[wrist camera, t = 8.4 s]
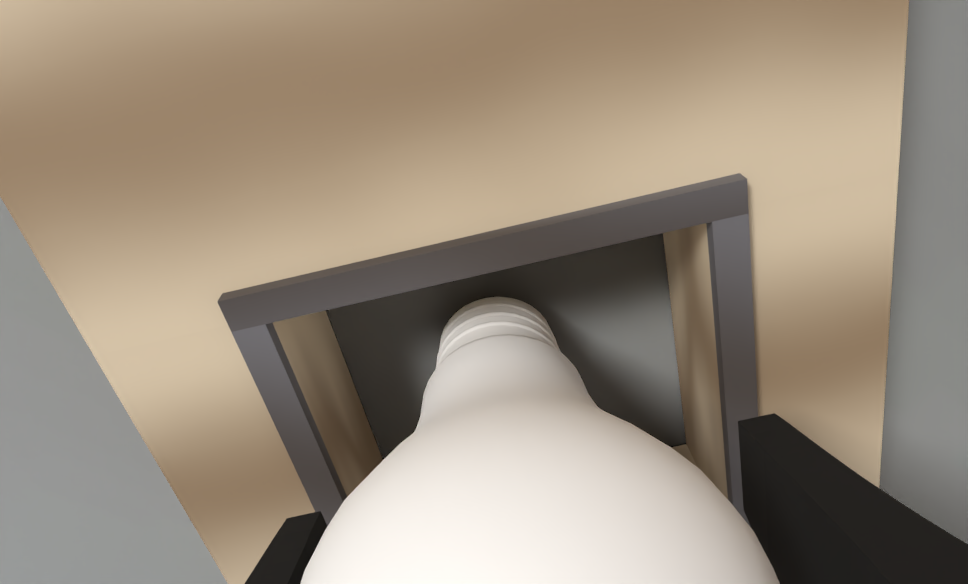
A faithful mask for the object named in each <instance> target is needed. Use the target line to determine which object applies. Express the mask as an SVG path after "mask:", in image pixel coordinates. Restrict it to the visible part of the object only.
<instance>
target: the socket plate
mask: <svg viewBox="0 0 968 584" xmlns="http://www.w3.org/2000/svg"><path fill="white" fill-rule="evenodd" d="M908 9H909V0H0V197H1V198H2V200H3V202H4V204H5V205H6V207H7V209H8V210H9V212H10V214H11V215H12V217H13V219H14V221H15V222H16V224H17V226H18V227H19V229H20V231H21V232H22V234H23V236H24V238H25V239H26V241H27V243H28V244H29V246H30V248H31V249H32V251H33V253H34V255H35V256H36V258H37V260H38V261H39V263H40V265H41V266H42V268H43V270H44V272H45V273H46V275H47V277H48V278H49V280H50V282H51V283H52V285H53V287H54V289H55V290H56V292H57V294H58V295H59V297H60V299H61V300H62V302H63V304H64V306H65V307H66V309H67V311H68V312H69V314H70V316H71V317H72V319H73V321H74V323H75V324H76V326H77V328H78V329H79V331H80V333H81V334H82V336H83V338H84V340H85V341H86V343H87V345H88V346H89V348H90V350H91V351H92V353H93V355H94V357H95V358H96V360H97V362H98V363H99V365H100V367H101V368H102V370H103V372H104V374H105V375H106V377H107V379H108V380H109V382H110V384H111V385H112V387H113V389H114V391H115V392H116V394H117V396H118V397H119V399H120V401H121V402H122V404H123V406H124V408H125V409H126V411H127V413H128V414H129V416H130V418H131V419H132V421H133V423H134V425H135V426H136V428H137V430H138V431H139V433H140V435H141V436H142V438H143V440H144V442H145V443H146V445H147V447H148V448H149V450H150V452H151V453H152V455H153V457H154V459H155V460H156V462H157V464H158V465H159V467H160V469H161V470H162V472H163V474H164V476H165V477H166V479H167V481H168V482H169V484H170V486H171V487H172V489H173V491H174V493H175V494H176V496H177V498H178V499H179V501H180V503H181V504H182V506H183V508H184V510H185V511H186V513H187V515H188V516H189V518H190V520H191V521H192V523H193V525H194V527H195V528H196V530H197V532H198V533H199V535H200V537H201V538H202V540H203V542H204V544H205V545H206V547H207V549H208V550H209V552H210V554H211V555H212V557H213V559H214V561H215V562H216V564H217V566H218V567H219V569H220V571H221V572H222V574H223V576H224V578H225V579H226V581H227V583H228V584H245V582H246V580H247V579H248V577H249V576H250V574H251V573H252V571H253V570H254V568H255V566H256V565H257V563H258V562H259V560H260V559H261V557H262V555H263V554H264V552H265V551H266V549H267V548H268V546H269V544H270V543H271V541H272V540H273V538H274V537H275V535H276V534H277V532H278V531H279V529H280V528H281V526H282V525H283V523H284V522H285V520H286V519H287V518H290V517H295V516H300V515H304V514H309V513H314V512H318V511H321V513H322V515H323V517H324V519H325V522H326V524H327V526H328V525H329V523H330V522H331V520H332V519H333V517H334V515H335V514H336V512H337V511H338V509H339V508H340V506H341V505H342V503H343V501H344V500H345V499H346V498H347V497H348V496H349V495H350V494H351V493H352V492H353V491H354V490H355V488H356V487H357V486H358V485H359V484H360V483H361V482H362V481H363V480H364V479H365V478H366V477H367V476H368V475H369V474H370V473H371V472H372V471H373V470H374V469H375V468H376V467H377V466H378V465H379V464H380V463H381V462H382V461H383V459H382V456H381V453H380V451H379V448H378V446H377V443H376V440H375V438H374V435H373V433H372V430H371V427H370V425H369V422H368V420H367V417H366V414H365V412H364V409H363V407H362V404H361V401H360V399H359V396H358V394H357V391H356V388H355V386H354V383H353V381H352V378H351V375H350V373H349V370H348V368H347V365H346V362H345V360H344V357H343V355H342V352H341V349H340V347H339V344H338V342H337V339H336V336H335V334H334V331H333V329H332V326H331V323H330V321H329V318H328V316H327V313H326V310H330V309H334V308H338V307H343V306H347V305H351V304H356V303H360V302H365V301H369V300H373V299H378V298H382V297H386V296H391V295H395V294H399V293H404V292H408V291H413V290H417V289H421V288H426V287H430V286H434V285H439V284H443V283H447V282H452V281H456V280H461V279H465V278H469V277H474V276H478V275H482V274H487V273H491V272H495V271H500V270H504V269H509V268H513V267H517V266H522V265H526V264H530V263H535V262H539V261H543V260H548V259H552V258H556V257H561V256H565V255H570V254H574V253H578V252H583V251H587V250H591V249H596V248H600V247H604V246H609V245H613V244H618V243H622V242H626V241H631V240H635V239H639V238H644V237H648V236H652V235H657V234H661V233H663V239H664V248H665V257H666V266H667V275H668V283H669V292H670V301H671V310H672V319H673V328H674V337H675V346H676V355H677V364H678V373H679V382H680V391H681V400H682V409H683V418H684V427H685V436H686V444H685V445H680V446H675V447H671V448H672V449H674V450H675V451H676V452H678V453H679V454H680V455H682V456H683V457H684V458H686V459H687V460H688V461H690V462H691V463H692V464H694V465H695V466H696V467H698V468H699V469H700V470H701V471H702V472H703V473H704V474H705V475H706V476H707V477H708V478H709V479H710V480H711V482H712V483H713V484H714V485H715V486H716V487H717V488H718V489H719V490H720V492H721V493H722V494H723V495H724V496H725V497H726V498H727V499H728V500H729V501H730V503H731V504H732V505H733V506H734V507H735V509H736V510H737V511H738V512H739V514H740V515H741V516H742V517H743V519H744V520H745V521H746V522H747V524H748V525H749V526H750V524H749V521H748V519H747V517H746V514H745V512H744V508H743V493H742V477H741V462H740V447H739V431H738V421H740V420H745V419H750V418H754V417H759V416H764V415H768V414H773V413H775V414H777V415H778V416H780V417H781V418H783V419H784V420H785V421H787V422H788V423H789V424H791V425H792V426H793V427H795V428H796V429H797V430H799V431H800V432H801V433H803V434H804V435H805V436H807V437H808V438H809V439H811V440H812V441H813V442H815V443H816V444H817V445H819V446H820V447H821V448H823V449H824V450H826V451H827V452H828V453H830V454H831V455H832V456H834V457H835V458H837V459H838V460H839V461H841V462H842V463H843V464H845V465H846V466H848V467H849V468H850V469H852V470H853V471H855V472H856V473H858V474H859V475H860V476H862V477H863V478H865V479H866V480H868V481H869V482H871V483H872V484H874V485H875V486H877V487H878V488H879V482H880V466H881V450H882V433H883V417H884V401H885V384H886V368H887V352H888V335H889V319H890V303H891V286H892V270H893V254H894V237H895V221H896V205H897V188H898V172H899V156H900V139H901V123H902V107H903V90H904V74H905V58H906V41H907V25H908ZM750 527H751V526H750ZM751 529H752V528H751Z"/></svg>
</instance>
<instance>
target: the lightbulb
mask: <svg viewBox="0 0 968 584" xmlns="http://www.w3.org/2000/svg"><path fill="white" fill-rule="evenodd" d="M300 584H780V583H779V581H778V578H777V576H776V573H775V571H774V569H773V567H772V565H771V563H770V561H769V559H768V557H767V555H766V553H765V552H764V550H763V548H762V546H761V544H760V542H759V540H758V538H757V536H756V535H755V533H754V531H753V530H752V529H751V527H750V526H749V525H748V524H747V522H746V521H745V520H744V519H743V517H742V516H741V515H740V514H739V512H738V511H737V510H736V509H735V507H734V506H733V505H732V504H731V503H730V501H729V500H728V499H727V498H726V497H725V496H724V495H723V494H722V493H721V492H720V490H719V489H718V488H717V487H716V486H715V485H714V484H713V483H712V482H711V480H710V479H709V478H708V477H707V476H706V475H705V474H704V473H703V472H702V471H701V470H700V469H699V468H698V467H696V466H695V465H694V464H692V463H691V462H690V461H688V460H687V459H686V458H684V457H683V456H682V455H680V454H679V453H678V452H676V451H675V450H674V449H672V448H671V447H669V446H668V445H666V444H664V443H663V442H661V441H659V440H658V439H656V438H654V437H653V436H651V435H649V434H648V433H646V432H644V431H643V430H641V429H639V428H638V427H636V426H634V425H633V424H631V423H629V422H627V421H624V420H622V419H620V418H618V417H616V416H614V415H611V414H609V413H607V412H605V411H603V410H601V409H600V408H599V407H598V406H597V405H596V404H595V403H594V401H593V400H592V398H591V397H590V395H589V394H588V392H587V390H586V387H585V385H584V383H583V380H582V378H581V376H580V375H579V373H578V371H577V369H576V367H575V366H574V365H573V364H572V363H571V362H570V360H569V359H568V358H567V357H566V356H565V355H564V354H562V353H561V352H560V349H559V347H558V345H557V342H556V339H555V337H554V335H553V333H552V331H551V329H550V327H549V325H548V323H547V321H546V319H545V318H544V317H543V316H542V314H541V313H540V312H539V311H537V310H536V309H535V308H534V307H532V306H531V305H529V304H527V303H525V302H523V301H520V300H517V299H513V298H508V297H488V298H484V299H480V300H476V301H474V302H472V303H470V304H468V305H466V306H464V307H463V308H461V309H460V310H459V311H457V312H456V313H455V314H454V315H453V316H452V317H451V318H450V319H449V321H448V323H447V324H446V326H445V327H444V330H443V332H442V335H441V339H440V347H439V352H438V355H437V363H436V369H435V371H434V372H433V374H432V376H431V377H430V379H429V380H428V383H427V386H426V388H425V391H424V394H423V401H422V408H421V415H420V419H419V422H418V424H417V427H416V430H415V431H414V433H413V434H411V435H410V436H409V437H408V438H406V439H405V440H404V441H402V442H401V443H400V444H399V445H398V446H397V447H396V448H395V449H394V450H393V451H392V452H391V453H390V454H389V455H388V456H387V457H386V458H385V459H384V460H383V461H382V462H381V463H380V464H379V465H378V466H377V467H376V468H375V469H374V470H373V471H372V472H371V473H370V474H369V475H368V476H367V477H366V478H365V479H364V480H363V481H362V482H361V483H360V484H359V485H358V486H357V487H356V488H355V490H354V491H353V492H352V493H351V494H350V495H349V496H348V497H347V498H346V499H345V500H344V501H343V503H342V505H341V506H340V508H339V509H338V511H337V512H336V514H335V515H334V517H333V519H332V520H331V522H330V523H329V525H328V526H327V528H326V529H325V531H324V533H323V535H322V537H321V539H320V541H319V543H318V545H317V547H316V549H315V551H314V553H313V555H312V557H311V559H310V561H309V563H308V565H307V567H306V568H305V571H304V574H303V577H302V580H301V583H300Z"/></svg>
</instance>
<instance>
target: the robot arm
mask: <svg viewBox="0 0 968 584" xmlns="http://www.w3.org/2000/svg"><path fill="white" fill-rule="evenodd" d="M738 431H739V447H740V462H741V477H742V493H743V508H744V512H745V514H746V517H747V519H748V521H749V524H750V526H751V528H752V530H753V531H754V533H755V535H756V536H757V538H758V540H759V542H760V544H761V546H762V548H763V550H764V552H765V553H766V555H767V557H768V559H769V561H770V563H771V565H772V567H773V569H774V571H775V573H776V576H777V578H778V581H779V583H780V584H968V544H966V543H965V542H963V541H961V540H959V539H958V538H956V537H954V536H953V535H951V534H950V533H948V532H946V531H945V530H943V529H941V528H940V527H938V526H937V525H935V524H933V523H932V522H930V521H928V520H927V519H925V518H923V517H922V516H920V515H919V514H917V513H916V512H914V511H913V510H911V509H909V508H908V507H906V506H905V505H903V504H902V503H900V502H899V501H897V500H896V499H894V498H893V497H891V496H890V495H888V494H887V493H885V492H884V491H882V490H881V489H879V488H878V487H877V486H875V485H874V484H872V483H871V482H869V481H868V480H866V479H865V478H863V477H862V476H860V475H859V474H858V473H856V472H855V471H853V470H852V469H850V468H849V467H848V466H846V465H845V464H843V463H842V462H841V461H839V460H838V459H837V458H835V457H834V456H832V455H831V454H830V453H828V452H827V451H826V450H824V449H823V448H821V447H820V446H819V445H817V444H816V443H815V442H813V441H812V440H811V439H809V438H808V437H807V436H805V435H804V434H803V433H801V432H800V431H799V430H797V429H796V428H795V427H793V426H792V425H791V424H789V423H788V422H787V421H785V420H784V419H783V418H781V417H780V416H778V415H777V414H775V413H773V414H768V415H764V416H759V417H754V418H750V419H745V420H740V421H738ZM326 528H327V524H326V522H325V519H324V517H323V515H322V513H321V511H318V512H314V513H309V514H304V515H300V516H295V517H290V518H287V519H286V520H285V522H284V523H283V525H282V526H281V528H280V529H279V531H278V532H277V534H276V535H275V537H274V538H273V540H272V541H271V543H270V544H269V546H268V548H267V549H266V551H265V552H264V554H263V555H262V557H261V559H260V560H259V562H258V563H257V565H256V566H255V568H254V570H253V571H252V573H251V574H250V576H249V577H248V579H247V580H246V582H245V584H300V583H301V580H302V577H303V574H304V571H305V568H306V567H307V565H308V563H309V561H310V559H311V557H312V555H313V553H314V551H315V549H316V547H317V545H318V543H319V541H320V539H321V537H322V535H323V533H324V531H325V529H326Z"/></svg>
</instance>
